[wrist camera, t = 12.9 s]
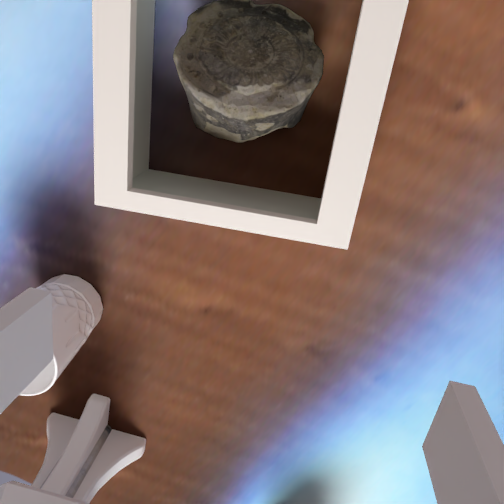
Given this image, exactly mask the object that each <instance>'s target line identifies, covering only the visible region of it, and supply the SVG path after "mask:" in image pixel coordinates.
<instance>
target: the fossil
mask: <svg viewBox="0 0 504 504" xmlns="http://www.w3.org/2000/svg"><path fill="white" fill-rule="evenodd" d="M173 60H174V63H175V65H176V68H177V72H178V76H179V78H180V81H181V83H182V85H183V88H184V90H185V92H186V94H187V98H188V102H189V106H190V110H191V114H192V118H193V122H194V124H195V126H196V128H200V129H201V130H203V131H204V132H207V133H209V134H211V135H212V136H215V137H216V138H221V139H227V140H231V141H234V142H237V143H242V142H245V141H248V140H254V139H256V138H257V137H261V136H264V135H266V134H269V133H271V132H272V131H274V130H277V129H280V128H292V127H294V126H295V125H296V124H297V123H298V122H300V120H301V118H302V115H303V113H304V110H305V107H306V105H307V103H308V101H309V99H310V97H311V95H312V93H313V91H314V89H315V88H316V87H317V85H318V83H319V81H320V79H321V77H322V74H323V61H324V55H323V54H322V50H321V49H320V48H319V47H318V46H317V45H316V44H315V42H314V32H313V29H312V28H311V25H310V23H309V22H307V21H306V20H305V19H303V18H302V17H301V16H298V15H297V14H295V13H294V12H293V11H291V10H290V9H288V8H286V7H284V6H282V5H280V4H263V5H255V4H254V3H253V2H252V1H251V0H220V1H213V2H212V3H210V4H206V5H204V6H203V7H201V8H198V9H197V10H196V11H195V12H193V13H192V14H191V15H190V16H189V17H188V21H187V30H186V32H185V34H184V35H183V36H182V37H181V38H180V40H179V42H178V44H177V46H176V48H175V50H174V54H173Z"/></svg>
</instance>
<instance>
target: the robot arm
mask: <svg viewBox="0 0 504 504" xmlns="http://www.w3.org/2000/svg"><path fill="white" fill-rule="evenodd" d="M52 360H53V328H52V297H51V292H49V291H44V290H40V289H35V288H31V287H30V288H28V289H27V290H25V291H24V292H23V293H21V294H20V295H18V296H17V297H16V298H14V299H13V300H11V301H10V302H9V303H7V304H6V305H4V306H3V307H1V308H0V414H1V413H2V412H3V411H4V410H5V409H6V408H7V407H8V406H9V405H10V403H11V402H12V401H13V400H14V399H15V398H16V397H17V396H18V395H19V394H20V393H21V392H22V391H23V390H24V389H25V388H26V387H27V386H28V385H29V384H30V383H31V382H32V381H33V380H34V379H35V378H36V377H37V376H38V375H39V373H40V372H41V371H42V370H43V369H44V368H45V367H46V366H47V365H48V364H49V363H50V362H51V361H52ZM422 447H423V451H424V454H425V458H426V462H427V466H428V469H429V473H430V477H431V481H432V485H433V488H434V492H435V496H436V500H437V503H438V504H504V445H503V443H502V441H501V439H500V437H499V434H498V432H497V430H496V428H495V426H494V424H493V422H492V420H491V418H490V416H489V414H488V412H487V410H486V408H485V406H484V404H483V402H482V400H481V398H480V396H479V394H478V391H477V389H476V387H475V386H471V385H467V384H462V383H458V382H453V381H449V384H448V386H447V388H446V391H445V393H444V396H443V398H442V400H441V403H440V405H439V408H438V410H437V412H436V415H435V417H434V419H433V422H432V424H431V427H430V429H429V431H428V434H427V436H426V439H425V441H424V443H423V446H422Z"/></svg>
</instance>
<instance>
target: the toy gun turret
mask: <svg viewBox="0 0 504 504" xmlns="http://www.w3.org/2000/svg"><path fill="white" fill-rule="evenodd" d="M109 408H110V398H109V397H105V396H101V395H98V394H92V395H91V396H90V398H89V399H88V401H87V403H86V406H85V408H84V411H83V413H82V415H81V417H80V420H79V419H75V418H71V417H68V416H64V415H61V414H57V413H54V412H53V413H51V414H50V416H49V417H48V419H47V436H48V446H47V451H46V455H45V459H44V463H43V465H42V467H41V469H40V471H39V473H38V475H37V477H36V479H35V480H34V482H33V483H32V485H31V486H29V485H25V484H22V483H19V482H15V481H11V482H7V483H5V484H2V485H0V504H90V501H91V500H92V498H93V497H94V495H95V494H96V492H97V491H98V490H99V489H100V488H101V487H102V486H103V485H104V484H105V483H106V482H107V481H108V480H109V479H110V478H111V477H113V476H114V475H115V474H116V473H117V472H119V471H120V470H121V469H122V468H124V467H126V466H127V465H129V464H130V463H132V462H134V461H135V460H137V459H139V458H140V457H141V456H142V455H143V453H144V451H145V445H146V439H145V438H142V437H139V436H135V435H132V434H128V433H124V432H121V431H117V430H114V429H111V427H110V426H109V425H108V417H109Z"/></svg>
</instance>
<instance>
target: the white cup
mask: <svg viewBox="0 0 504 504" xmlns="http://www.w3.org/2000/svg"><path fill="white" fill-rule="evenodd" d="M35 289H40V290H44V291H49V292H51V297H52V328H53V360H52V361H51V362H50V363H49V364H48V365H47V366H46V367H45V368H44V369H43V370H42V371H41V372H40V373H39V375H38V376H37V377H36V378H35V379H34V380H33V381H32V382H31V383H30V384H29V385H28V386H27V387H26V388H25V389H24V390H23V391H22V392H21V393H20V394H19V395H23V396H33V395H38V394H41V393H43V392H45V391H47V390H48V389H49V388H51V386H52V385H53V384H54V383H55V381H56V380H57V379H58V377H59V376H60V375H61V373H62V372H63V371H64V369H65V368H66V367H67V366H68V364H69V363H70V362H71V360H72V359H73V358H74V356H75V355H76V354H77V352H78V351H79V349H80V348H81V346H82V345H83V344H84V343H85V341H86V340H87V338H88V336H89V335H90V333H91V331H92V330H93V329H94V327H95V326H96V325H97V324H98V322H99V321H100V319H101V315H102V311H103V305H102V302H101V298H100V295H99V294H98V293H97V291H96V290H95V289H94V287H93V286H92V285H91V284H90V283H88V282H87V281H85V280H83V279H82V278H80V277H78V276H73V275H67V274H63V275H59V276H56V277H52V278H51V279H49V280H48V281H46V282H45V283H43V284H42V285H41V286H39V287H37V288H35Z"/></svg>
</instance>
